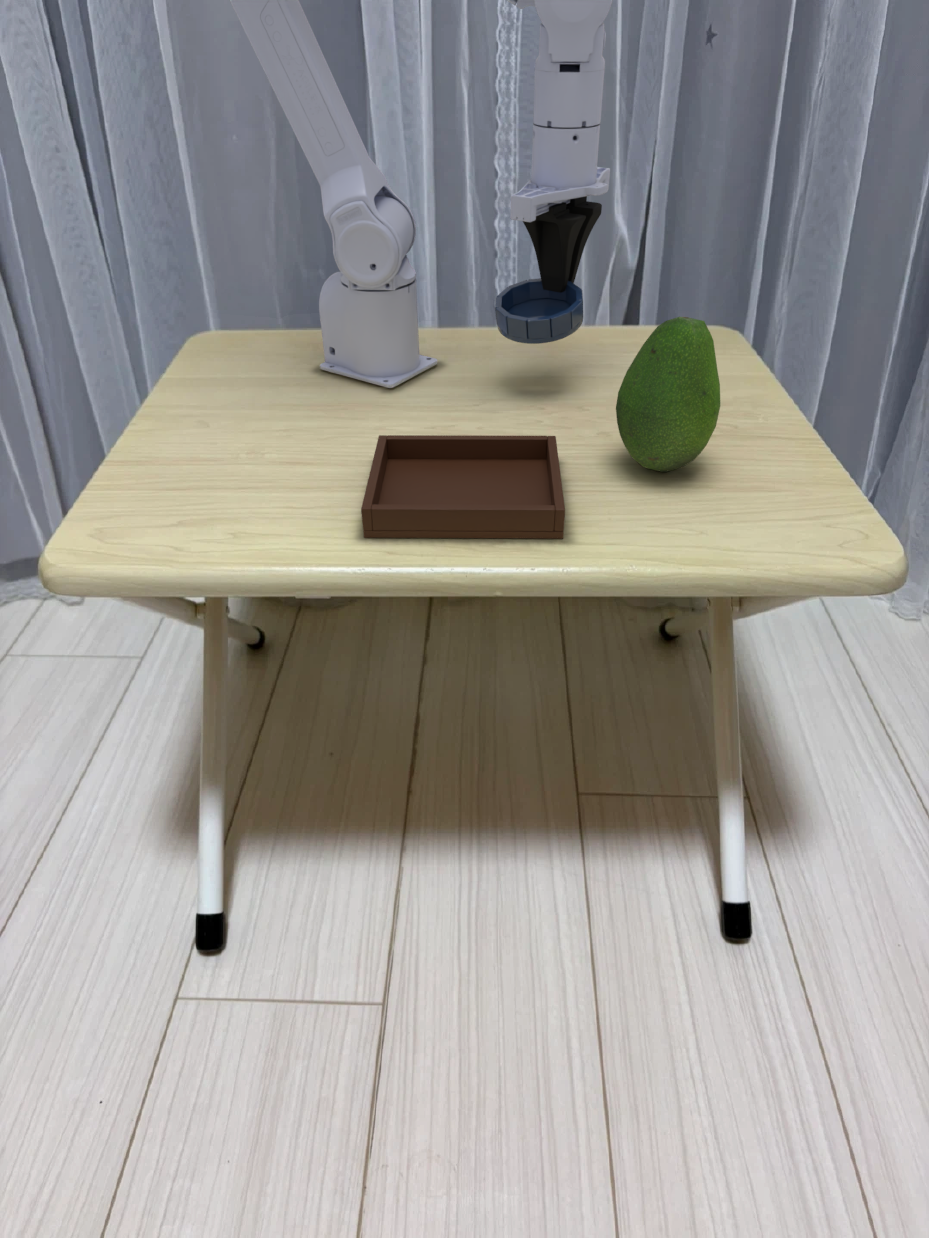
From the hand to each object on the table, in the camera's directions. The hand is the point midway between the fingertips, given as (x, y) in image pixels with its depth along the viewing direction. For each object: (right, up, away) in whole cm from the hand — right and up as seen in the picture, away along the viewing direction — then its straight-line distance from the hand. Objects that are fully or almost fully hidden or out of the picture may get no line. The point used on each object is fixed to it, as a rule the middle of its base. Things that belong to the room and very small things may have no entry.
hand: (557, 288), depth 81 cm
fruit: (+7, -19, -10) cm, 23 cm away
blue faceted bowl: (-2, -3, -1) cm, 4 cm away
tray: (-9, -22, -15) cm, 28 cm away
